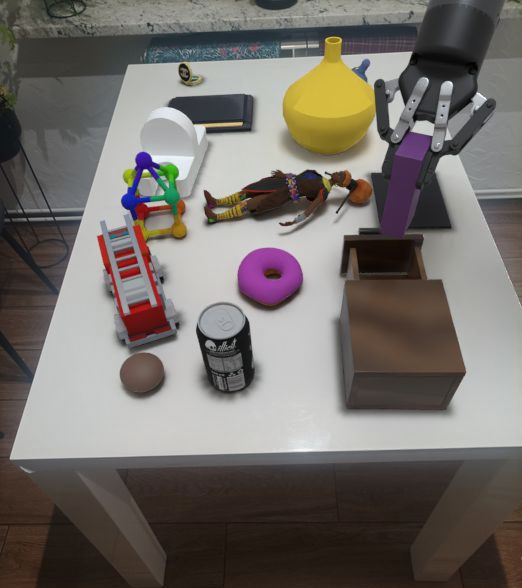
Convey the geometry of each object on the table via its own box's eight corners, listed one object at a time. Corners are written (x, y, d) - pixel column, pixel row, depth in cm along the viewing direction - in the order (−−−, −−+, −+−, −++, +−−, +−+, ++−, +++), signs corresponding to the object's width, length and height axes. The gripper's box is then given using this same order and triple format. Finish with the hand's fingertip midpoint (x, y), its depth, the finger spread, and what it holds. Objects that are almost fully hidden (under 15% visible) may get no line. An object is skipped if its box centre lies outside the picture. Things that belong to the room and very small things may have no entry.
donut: (266, 319, 72) (265, 299, 68) (224, 284, 76) (221, 263, 73) (315, 285, 75) (316, 264, 72) (272, 253, 80) (271, 232, 76)
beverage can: (232, 347, 69) (223, 290, 59) (264, 373, 66) (260, 318, 56) (198, 374, 66) (182, 320, 57) (229, 403, 63) (218, 350, 54)
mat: (434, 173, 91) (434, 171, 91) (451, 228, 82) (451, 226, 81) (371, 175, 92) (371, 172, 91) (380, 229, 82) (381, 227, 82)
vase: (363, 116, 104) (376, 16, 89) (378, 164, 94) (395, 60, 78) (280, 121, 105) (279, 23, 89) (285, 170, 94) (284, 67, 78)
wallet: (254, 89, 110) (251, 124, 101) (254, 97, 112) (251, 132, 103) (169, 92, 111) (158, 127, 102) (170, 100, 113) (160, 135, 104)
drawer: (338, 250, 78) (341, 216, 73) (409, 249, 78) (418, 215, 72) (345, 335, 68) (350, 303, 62) (428, 335, 67) (440, 303, 62)
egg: (120, 398, 65) (111, 383, 61) (127, 363, 68) (119, 346, 65) (164, 397, 64) (157, 381, 61) (169, 361, 68) (163, 345, 65)
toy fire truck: (157, 258, 81) (142, 210, 73) (185, 339, 70) (171, 293, 62) (105, 273, 79) (84, 225, 71) (126, 358, 69) (104, 313, 60)
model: (118, 245, 82) (113, 163, 71) (126, 211, 88) (123, 132, 77) (184, 252, 83) (190, 173, 73) (187, 219, 90) (193, 142, 79)
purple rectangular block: (391, 209, 63) (408, 130, 54) (414, 215, 62) (434, 136, 53) (379, 233, 60) (394, 154, 51) (402, 239, 59) (422, 160, 50)
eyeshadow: (205, 79, 118) (202, 58, 114) (191, 87, 116) (188, 66, 112) (192, 75, 120) (189, 53, 116) (178, 83, 118) (175, 61, 114)
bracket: (188, 197, 90) (177, 141, 81) (138, 195, 91) (121, 139, 82) (209, 142, 101) (201, 87, 92) (163, 141, 102) (151, 86, 93)
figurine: (201, 170, 88) (362, 134, 85) (213, 206, 95) (363, 173, 92) (202, 224, 79) (383, 186, 76) (215, 259, 86) (382, 225, 82)
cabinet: (339, 321, 71) (345, 280, 64) (426, 321, 70) (442, 279, 63) (346, 408, 62) (354, 372, 55) (446, 409, 61) (466, 372, 54)
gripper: (392, -8, 49) (338, 162, 53) (536, 9, 45) (467, 192, 48) (398, 30, 56) (350, 177, 60) (523, 48, 52) (464, 205, 55)
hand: (403, 183), depth 54 cm, fingers closed on purple rectangular block, 3 cm apart
